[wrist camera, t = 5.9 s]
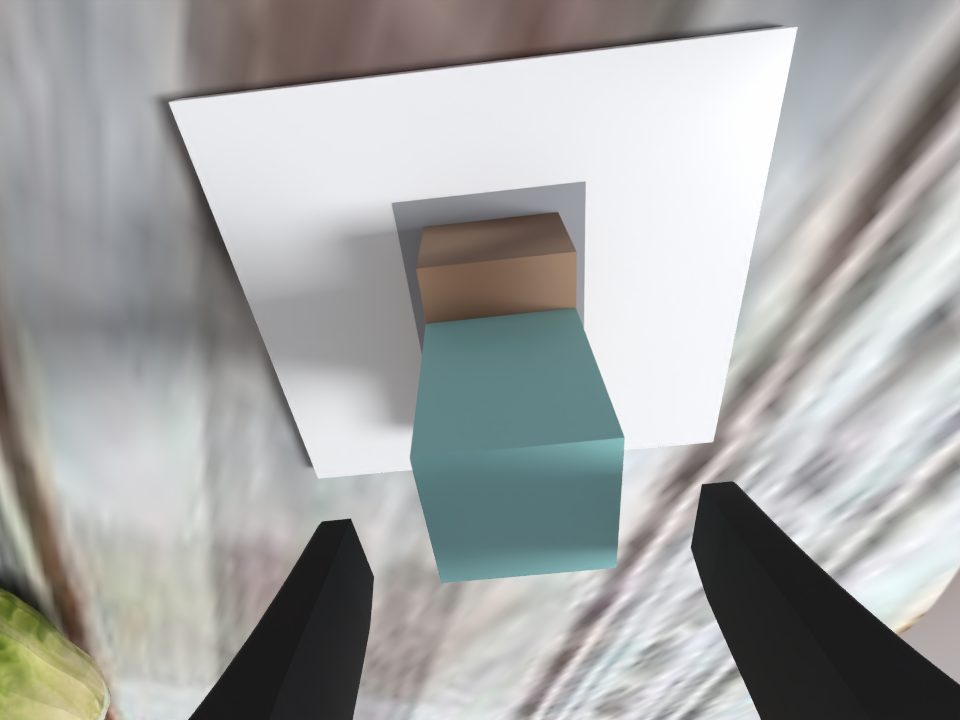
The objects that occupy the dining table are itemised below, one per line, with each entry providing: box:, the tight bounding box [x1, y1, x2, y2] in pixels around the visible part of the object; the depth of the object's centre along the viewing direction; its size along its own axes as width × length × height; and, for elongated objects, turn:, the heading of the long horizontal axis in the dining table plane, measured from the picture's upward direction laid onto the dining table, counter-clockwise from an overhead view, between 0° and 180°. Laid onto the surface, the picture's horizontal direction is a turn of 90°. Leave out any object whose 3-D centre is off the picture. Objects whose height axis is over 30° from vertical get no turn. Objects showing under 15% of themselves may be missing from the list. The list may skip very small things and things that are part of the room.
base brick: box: [416, 212, 577, 324], centre depth 16 cm, size 4×8×3 cm, turn 6°
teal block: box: [410, 308, 625, 583], centre depth 13 cm, size 4×4×5 cm
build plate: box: [169, 26, 798, 478], centre depth 17 cm, size 16×14×1 cm
